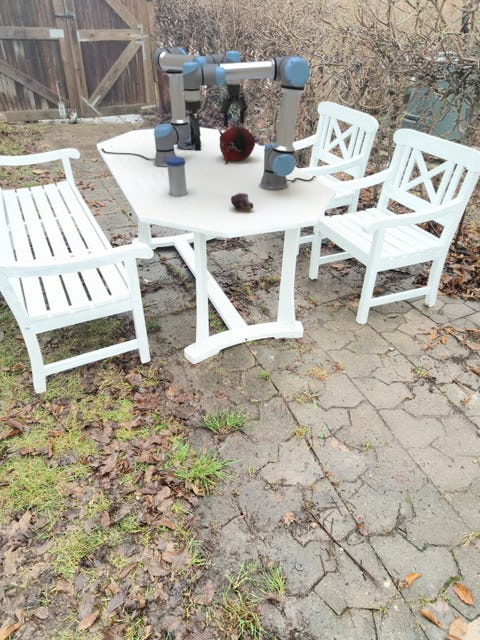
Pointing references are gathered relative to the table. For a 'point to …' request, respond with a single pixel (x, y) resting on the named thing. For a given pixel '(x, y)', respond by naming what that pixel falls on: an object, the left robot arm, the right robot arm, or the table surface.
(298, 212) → the table surface
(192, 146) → the koala plush
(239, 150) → the dark red rounded piece
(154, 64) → the left robot arm
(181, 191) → the jar
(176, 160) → the lid
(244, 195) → the rock
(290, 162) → the right robot arm
